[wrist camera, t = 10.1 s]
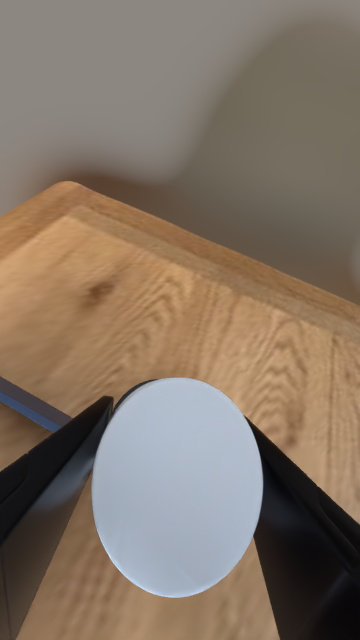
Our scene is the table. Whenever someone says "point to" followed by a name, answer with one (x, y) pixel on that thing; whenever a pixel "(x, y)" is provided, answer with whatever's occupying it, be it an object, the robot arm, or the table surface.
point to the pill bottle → (176, 487)
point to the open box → (32, 406)
